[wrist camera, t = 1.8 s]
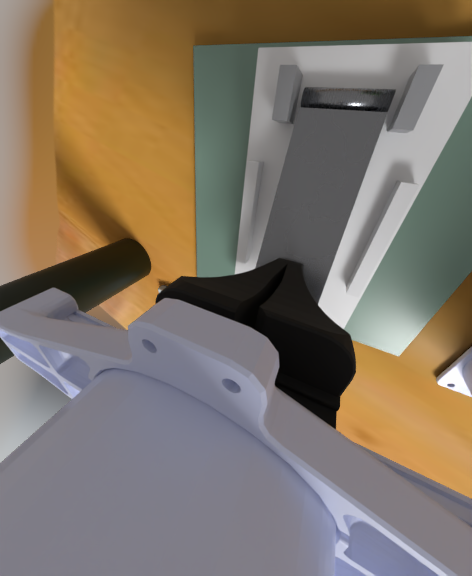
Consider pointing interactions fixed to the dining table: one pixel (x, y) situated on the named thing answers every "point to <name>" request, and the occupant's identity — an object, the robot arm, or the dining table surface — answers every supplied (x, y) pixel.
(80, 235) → the dining table surface
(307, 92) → the strap
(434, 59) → the green base plate
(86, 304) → the wine bottle
